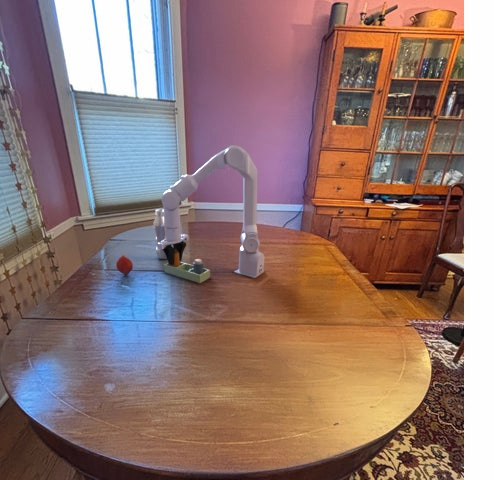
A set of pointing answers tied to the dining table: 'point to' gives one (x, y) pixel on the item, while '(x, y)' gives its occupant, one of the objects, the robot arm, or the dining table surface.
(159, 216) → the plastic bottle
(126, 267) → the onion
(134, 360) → the dining table surface
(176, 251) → the amber spice bottle
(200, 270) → the slate spice bottle
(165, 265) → the bottle holder
